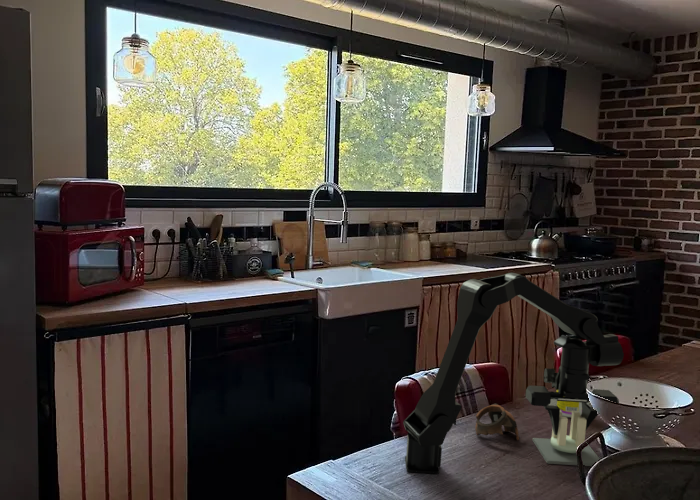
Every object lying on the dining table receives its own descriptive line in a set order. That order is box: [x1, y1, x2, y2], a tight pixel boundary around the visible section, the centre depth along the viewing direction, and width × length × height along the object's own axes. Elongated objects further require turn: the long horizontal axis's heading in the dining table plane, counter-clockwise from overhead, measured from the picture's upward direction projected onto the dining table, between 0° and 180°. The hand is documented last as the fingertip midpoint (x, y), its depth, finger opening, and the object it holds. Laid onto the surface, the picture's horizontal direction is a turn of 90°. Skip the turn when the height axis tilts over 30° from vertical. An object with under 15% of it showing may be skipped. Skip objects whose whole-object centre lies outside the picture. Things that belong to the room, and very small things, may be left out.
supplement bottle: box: [555, 389, 582, 418], centre depth 165 cm, size 7×7×13 cm
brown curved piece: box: [474, 403, 520, 441], centre depth 149 cm, size 12×10×8 cm
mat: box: [532, 437, 601, 467], centre depth 141 cm, size 12×12×1 cm
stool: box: [550, 410, 587, 453], centre depth 140 cm, size 7×7×7 cm
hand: (568, 435), depth 140 cm, fingers closed on stool, 5 cm apart
